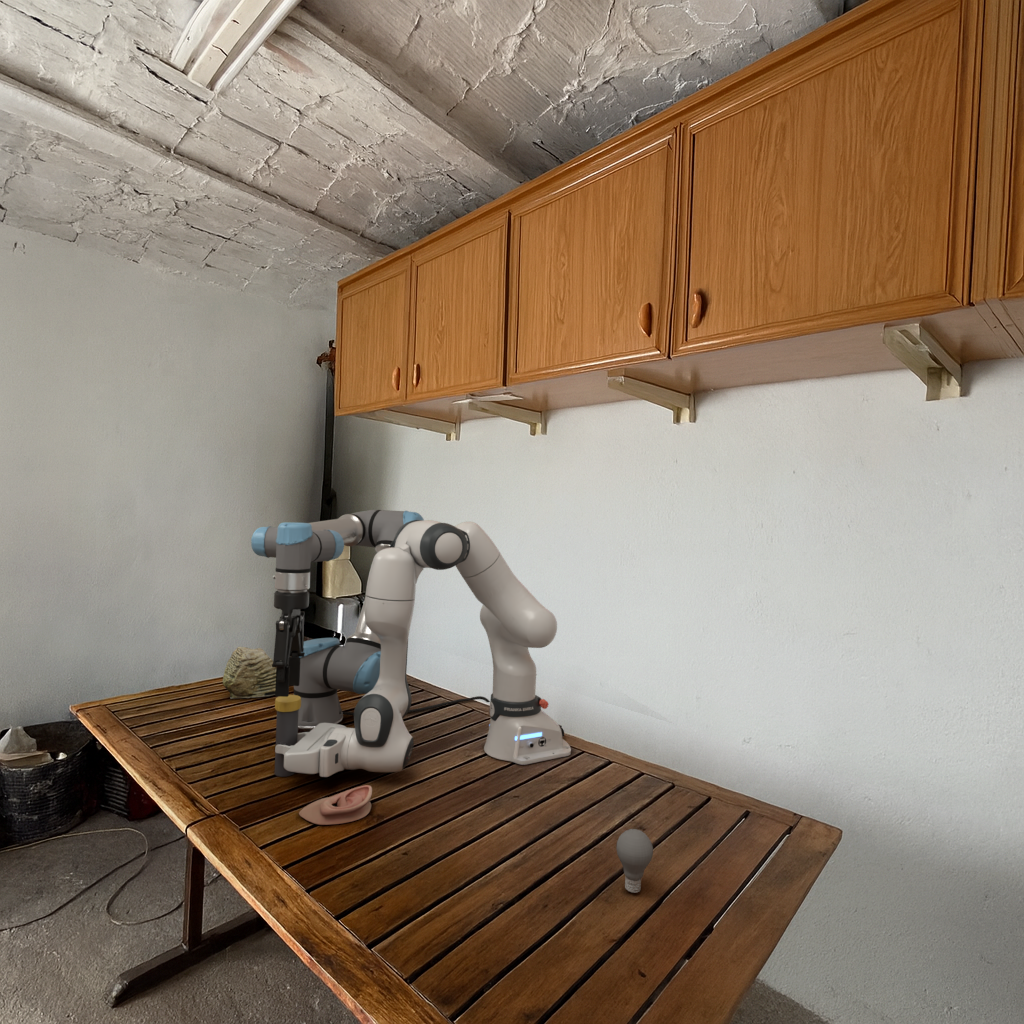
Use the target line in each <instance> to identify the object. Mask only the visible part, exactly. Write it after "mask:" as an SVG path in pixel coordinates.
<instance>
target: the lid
mask: <svg viewBox="0 0 1024 1024" xmlns="http://www.w3.org/2000/svg"><path fill="white" fill-rule="evenodd" d="M300 707H301V697H300V696H297V695H294V694H289V696H288V697H279V696H276V698H275V700H274V710H275V711H276V712H277V711H280V712H292V711H296V710H298V709H300Z"/></svg>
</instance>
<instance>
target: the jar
mask: <svg viewBox="0 0 1024 1024" xmlns="http://www.w3.org/2000/svg"><path fill="white" fill-rule="evenodd" d="M298 713H299V709H298V710H296V711H292V712H280V711H277V710H276V721H275V722H276V723H275V724H276V725H275V746H276V745H278V744H279V743H286V745H287V746H291V745H295V744H296V743H297V739H298V733H299V731H298ZM274 753H275V754H274V756H275V757H274V775H275V776H276V777H280V778H281V777H282V778H283V777H284V778H285V777H290V776H293V775H295V774H296V772H290V771H287V770H286V769H285V768H284V755H283V754H280V753H276V752H275V751H274Z"/></svg>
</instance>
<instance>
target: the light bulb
mask: <svg viewBox="0 0 1024 1024" xmlns="http://www.w3.org/2000/svg"><path fill="white" fill-rule="evenodd" d="M615 849H616V854H617V857H618V859H619V861H620V863H621V865H622V867H623V873H624V874H623V875H624V876H625V878H624V888H625V890H627V891H628V892H630V893H634V894H635V893H639V892H640V891H641V889H642V887H641V886H642V879H643V877H644V875H645V871H646V868H647V867H648V866H649V864H650V863H651V861H652V859H653V855H654V847H653V843H652V841H651V838H649V836H648V835H647V834H646V833H645V832H643V831H642V830H641V829H636V828H629V829H627V830H625V831H623V832H622V833H621V834H620V835H619V837H618V839H617V841H616V847H615Z"/></svg>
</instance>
